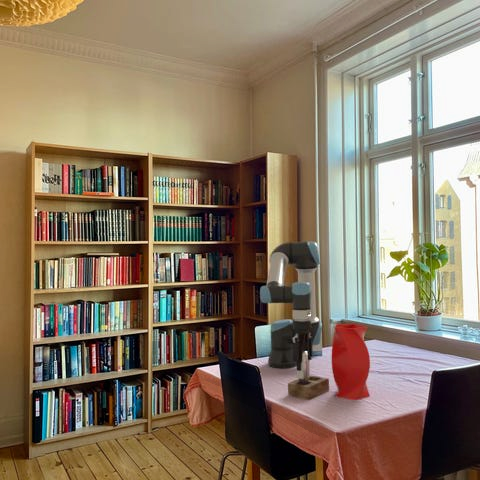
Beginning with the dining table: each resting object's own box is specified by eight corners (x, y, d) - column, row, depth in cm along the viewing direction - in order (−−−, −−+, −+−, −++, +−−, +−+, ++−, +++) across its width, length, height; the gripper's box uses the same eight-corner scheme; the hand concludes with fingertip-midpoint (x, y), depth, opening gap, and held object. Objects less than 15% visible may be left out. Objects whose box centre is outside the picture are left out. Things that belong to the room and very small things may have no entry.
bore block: (288, 395, 190) (287, 383, 190) (308, 386, 202) (308, 374, 202) (309, 399, 183) (308, 387, 183) (329, 390, 196) (328, 378, 196)
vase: (345, 401, 180) (343, 329, 181) (324, 392, 193) (323, 324, 194) (376, 396, 186) (374, 326, 187) (354, 387, 199) (352, 322, 200)
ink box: (322, 355, 263) (321, 332, 263) (307, 355, 263) (307, 332, 263) (320, 352, 271) (319, 329, 272) (305, 352, 271) (305, 329, 272)
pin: (296, 386, 189) (295, 351, 190) (302, 383, 192) (301, 350, 193) (305, 387, 187) (304, 352, 187) (310, 385, 190) (309, 351, 190)
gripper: (298, 323, 182) (299, 383, 181) (320, 318, 195) (321, 374, 194) (282, 321, 186) (284, 380, 186) (305, 316, 200) (306, 371, 199)
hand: (303, 376), depth 190 cm, fingers closed on pin, 4 cm apart
